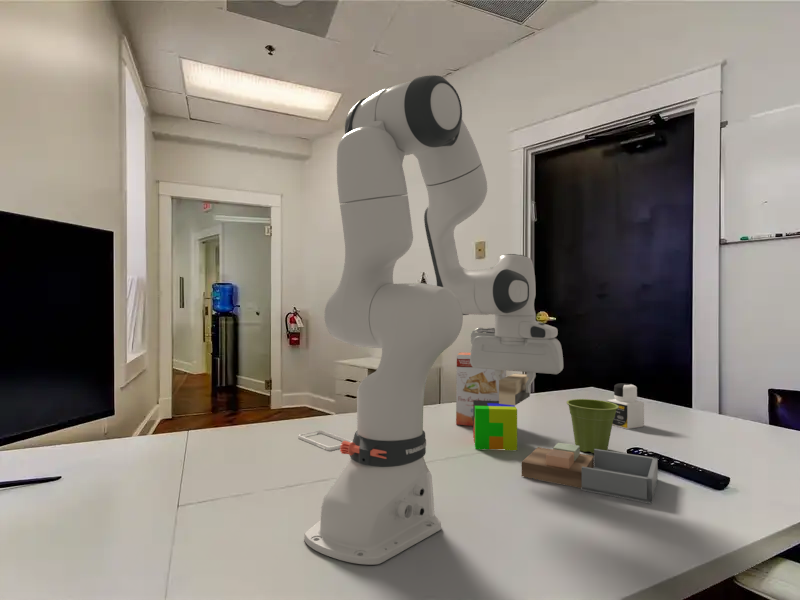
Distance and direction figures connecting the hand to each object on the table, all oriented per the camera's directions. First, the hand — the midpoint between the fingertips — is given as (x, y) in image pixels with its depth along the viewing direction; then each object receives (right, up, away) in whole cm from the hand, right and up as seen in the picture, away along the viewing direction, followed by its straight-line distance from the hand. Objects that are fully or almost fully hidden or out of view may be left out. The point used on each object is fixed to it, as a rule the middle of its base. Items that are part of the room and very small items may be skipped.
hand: (515, 391), depth 107 cm
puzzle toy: (-2, -17, +16) cm, 23 cm away
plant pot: (+21, -17, +11) cm, 29 cm away
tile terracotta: (+7, -13, -8) cm, 17 cm away
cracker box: (-2, -17, +35) cm, 38 cm away
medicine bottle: (+40, -17, +35) cm, 56 cm away
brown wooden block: (+8, -16, -5) cm, 19 cm away
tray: (+18, -16, -11) cm, 27 cm away
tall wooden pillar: (0, -2, 0) cm, 2 cm away
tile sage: (+10, -13, -3) cm, 17 cm away
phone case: (-45, -17, +18) cm, 51 cm away
